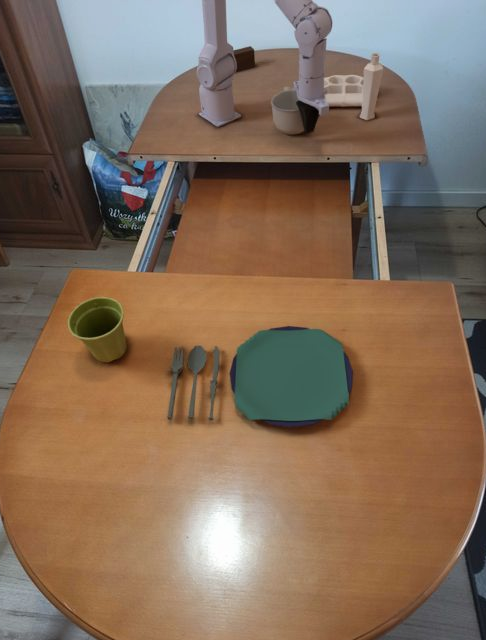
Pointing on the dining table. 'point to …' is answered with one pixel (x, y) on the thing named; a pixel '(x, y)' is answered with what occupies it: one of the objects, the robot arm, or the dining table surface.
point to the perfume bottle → (371, 86)
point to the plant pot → (99, 327)
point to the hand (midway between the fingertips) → (309, 131)
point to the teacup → (287, 112)
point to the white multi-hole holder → (344, 90)
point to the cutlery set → (279, 376)
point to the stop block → (244, 58)
